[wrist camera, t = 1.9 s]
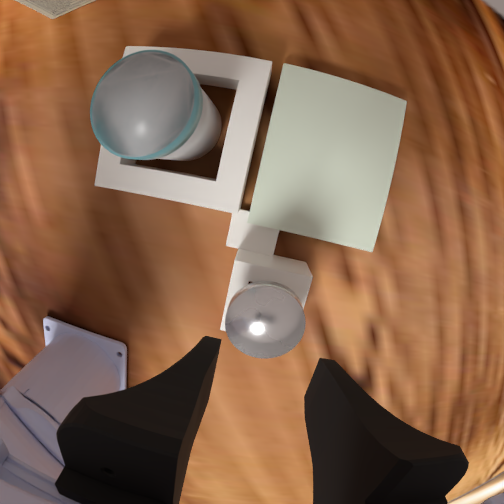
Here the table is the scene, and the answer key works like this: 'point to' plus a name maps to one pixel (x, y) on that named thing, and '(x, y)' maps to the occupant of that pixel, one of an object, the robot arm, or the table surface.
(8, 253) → the table surface
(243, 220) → the holder
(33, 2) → the skincare box
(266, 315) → the plunger
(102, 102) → the cartridge
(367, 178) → the pad
